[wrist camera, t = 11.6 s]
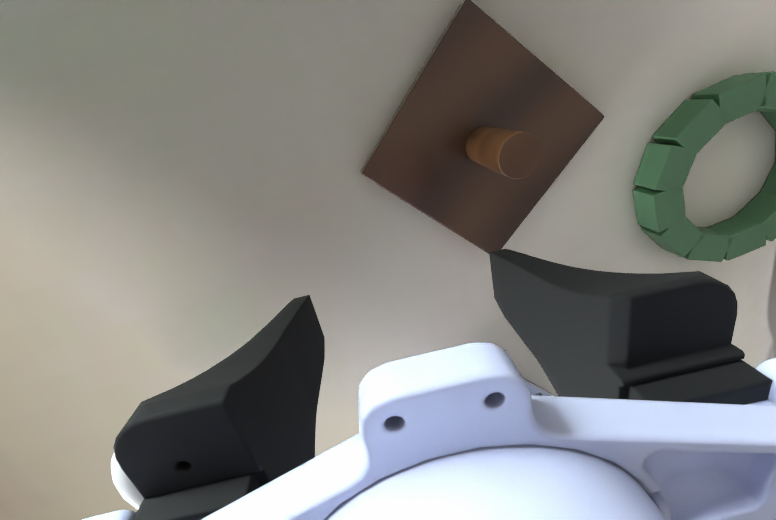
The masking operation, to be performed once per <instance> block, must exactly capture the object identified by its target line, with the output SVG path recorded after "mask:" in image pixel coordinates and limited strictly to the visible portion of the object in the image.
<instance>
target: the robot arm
mask: <svg viewBox="0 0 776 520" xmlns="http://www.w3.org/2000/svg"><path fill="white" fill-rule="evenodd" d="M490 262H491V271H492V280H493V289H494V298H495V300H496V302H497V303H498V305H499V307H500V309H501V311H502V313H503V315H504V316H505V318H506V319H507V321H508V322H509V323H510V325H511V326H512V327H513V329H514V330H515V331H516V333H517V334H518V335H519V337H520V338H521V339H522V341H523V342H524V343H525V344H526V346H527V347H528V348H529V350H530V351H531V352H532V354H533V355H534V356H535V358H536V359H537V361H538V362H539V364H540V365H541V367H542V368H543V370H544V372H545V373H546V375H547V377H548V379H549V380H550V382H551V384H552V385H553V387H554V389H555V391H556V392H557V394H558V396H552V394H551V393H549V392H547V391H545V390H544V389H542V388H540V387H538V386H536V385H534V384H532V383H530V382H528V381H526V380H524V379H523V378H522V376H521V374H520V373H519V371H518V369H517V368H516V366H515V365H514V363H513V361H512V360H511V358H510V357H509V355H508V353H507V352H506V351H505V350H503V349H502V348H500V347H498V346H496V345H494V344H492V343H469V344H464V345H460V346H456V347H451V348H447V349H443V350H439V351H434V352H430V353H426V354H422V355H417V356H413V357H409V358H404V359H400V360H396V361H392V362H387V363H385V364H383V365H381V366H379V367H377V368H375V369H373V370H370V371H369V372H368V374H367V375H366V376H365V378H364V379H363V380H362V382H361V383H360V384H359V434H357V435H355V436H353V437H351V438H349V439H348V440H346V441H344V442H342V443H340V444H338V445H337V446H335V447H333V448H331V449H329V450H327V451H326V452H324V453H322V454H320V455H318V456H316V457H315V426H316V412H317V404H318V397H319V391H320V385H321V378H322V372H323V365H324V335H323V332H322V330H321V327H320V324H319V321H318V318H317V315H316V312H315V310H314V307H313V304H312V301H311V298H310V295H307V296H303V297H299V298H295V299H293V300H292V301H291V302H289V303H288V304H287V305H286V306H285V307H284V308H283V309H282V310H281V311H280V312H279V313H278V314H277V315H276V316H275V317H274V318H273V319H272V320H271V321H270V322H269V323H268V324H267V325H266V326H265V327H264V328H263V329H262V330H261V331H260V332H259V333H258V334H256V335H255V336H254V337H253V338H252V339H251V340H250V341H248V342H247V343H246V344H245V345H244V346H242V347H241V348H240V349H238V350H237V351H236V352H234V353H233V354H232V355H230V356H229V357H227V358H226V359H224V360H223V361H221V362H219V363H218V364H216V365H215V366H213V367H212V368H210V369H209V370H207V371H205V372H203V373H202V374H200V375H198V376H196V377H194V378H193V379H191V380H189V381H187V382H185V383H183V384H181V385H179V386H177V387H175V388H173V389H170V390H168V391H166V392H164V393H161V394H159V395H157V396H154V397H152V398H150V399H148V400H145V401H143V402H141V403H140V405H139V406H138V408H137V409H136V410H135V412H134V413H133V415H132V416H131V417H130V419H129V420H128V422H127V423H126V424H125V426H124V427H123V429H122V430H121V431H120V433H119V434H118V436H117V437H116V440H115V444H114V454H115V458H116V460H117V462H118V464H119V465H120V467H121V469H122V470H123V472H124V473H125V474H126V475H127V477H128V478H129V479H130V481H131V482H132V483H133V485H134V486H135V487H136V489H137V490H138V491H139V492H140V494H141V495H142V496H143V498H144V499H143V501H142V503H141V505H140V507H139V509H138V510H137V512H134V511H131V510H118V511H114V512H110V513H106V514H101V515H97V516H93V517H88V518H85V519H82V520H776V358H773V359H769V360H766V361H764V362H762V363H761V364H759V365H758V366H757V367H756V369H755V368H753V367H752V366H750V365H749V364H747V363H745V362H744V361H742V360H741V359H744V356H745V354H744V352H743V351H742V350H740V349H739V348H737V347H736V346H734V345H732V344H731V341H732V336H733V331H734V326H735V321H736V317H737V300H736V296H735V293H734V292H733V291H732V290H731V288H730V287H729V286H728V285H726V284H724V283H722V282H720V281H718V280H716V279H714V278H712V277H710V276H708V275H706V274H704V273H702V272H700V271H696V272H680V273H664V274H632V273H614V272H602V271H594V270H588V269H581V268H575V267H570V266H566V265H562V264H557V263H553V262H550V261H546V260H542V259H539V258H536V257H532V256H529V255H526V254H523V253H519V252H516V251H512V250H508V249H503V250H499V251H494V252H490ZM538 393H539V394H538Z"/></svg>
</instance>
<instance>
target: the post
mask: <svg viewBox="0 0 776 520" xmlns="http://www.w3.org/2000/svg"><path fill="white" fill-rule="evenodd" d="M603 118H604V115H603V114H602V113H601V112H599V111H598V110H597V109H596V108H595V107H594V106H592V105H591V104H590V103H589V102H588V101H587V100H586V99H584V98H583V97H582V96H581V95H580V94H579V93H577V92H576V91H575V90H574V89H573V88H572V87H570V86H569V85H568V84H567V83H566V82H565V81H563V80H562V79H561V78H560V77H559V76H558V75H556V74H555V73H554V72H553V71H552V70H551V69H550V68H548V67H547V66H546V65H545V64H544V63H543V62H541V61H540V60H539V59H538V58H537V57H536V56H534V55H533V54H532V53H531V52H530V51H529V50H527V49H526V48H525V47H524V46H523V45H522V44H520V43H519V42H518V41H517V40H516V39H515V38H514V37H512V36H511V35H510V34H509V33H508V32H507V31H505V30H504V29H503V28H502V27H501V26H500V25H498V24H497V23H496V22H495V21H494V20H493V19H491V18H490V17H489V16H488V15H487V14H486V13H485V12H483V11H482V10H481V9H480V8H479V7H478V6H476V5H475V4H474V3H473V2H472V1H471V0H464V1H463V2H462V3H461V5H460V6H459V8H458V10H457V11H456V13H455V15H454V16H453V18H452V20H451V21H450V23H449V25H448V26H447V28H446V30H445V31H444V33H443V35H442V36H441V38H440V40H439V41H438V43H437V45H436V46H435V48H434V50H433V51H432V53H431V55H430V56H429V58H428V60H427V61H426V63H425V65H424V66H423V68H422V70H421V71H420V73H419V75H418V76H417V78H416V80H415V81H414V83H413V85H412V87H411V88H410V90H409V92H408V93H407V95H406V97H405V98H404V100H403V102H402V103H401V105H400V107H399V108H398V110H397V112H396V113H395V115H394V117H393V118H392V120H391V122H390V123H389V125H388V127H387V128H386V130H385V132H384V133H383V135H382V137H381V138H380V140H379V142H378V143H377V145H376V147H375V148H374V150H373V152H372V153H371V155H370V157H369V158H368V160H367V162H366V163H365V165H364V167H363V168H362V170H361V174H362V175H363V176H365V177H367V178H368V179H370V180H371V181H373V182H375V183H376V184H378V185H379V186H381V187H383V188H384V189H386V190H387V191H389V192H391V193H392V194H394V195H395V196H397V197H399V198H400V199H402V200H404V201H405V202H407V203H408V204H410V205H412V206H413V207H415V208H416V209H418V210H420V211H421V212H423V213H424V214H426V215H428V216H429V217H431V218H432V219H434V220H436V221H437V222H439V223H440V224H442V225H444V226H445V227H447V228H448V229H450V230H452V231H453V232H455V233H457V234H458V235H460V236H461V237H463V238H465V239H466V240H468V241H469V242H471V243H473V244H474V245H476V246H477V247H479V248H481V249H482V250H484V251H485V252H487V253H489V254H490V252H494V251H499V250H501V248H502V247H503V246H504V245H505V243H506V242H507V241H508V239H509V238H510V237H511V236H512V234H513V233H514V232H515V231H516V229H517V228H518V227H519V225H520V224H521V223H522V222H523V220H524V219H525V218H526V216H527V215H528V214H529V213H530V211H531V210H532V209H533V208H534V206H535V205H536V204H537V202H538V201H539V200H540V199H541V197H542V196H543V195H544V193H545V192H546V191H547V190H548V188H549V187H550V186H551V185H552V183H553V182H554V181H555V179H556V178H557V177H558V176H559V174H560V173H561V172H562V170H563V169H564V168H565V167H566V165H567V164H568V163H569V162H570V160H571V159H572V158H573V156H574V155H575V154H576V153H577V151H578V150H579V149H580V147H581V146H582V145H583V144H584V142H585V141H586V140H587V138H588V137H589V136H590V135H591V133H592V132H593V131H594V130H595V128H596V127H597V126H598V124H599V123H600V122H601V121H602V119H603Z"/></svg>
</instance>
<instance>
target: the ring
mask: <svg viewBox="0 0 776 520" xmlns="http://www.w3.org/2000/svg"><path fill="white" fill-rule="evenodd" d="M753 111H760V112H761V113H762V114H763V115H764V117H765V118H766V119H767V120H768V122H769V123H770V124H771V125H772V127H773V128H774V129H775V130H776V72H762V73H751V74H742V75H735V76H732V77H730V78H728V79H726V80H723V81H721V82H719V83H717V84H715V85H712V86H710V87H708V88H706V89H704V90H701V91H699V92H697V93H695V94H693V95H692V100H685V101H684V102H683V103H682V104H681V105H680V106H679V107H678V109H677V110H676V111H675V112H674V113H673V114H672V115H671V116H670V117H669V118H668V119H667V121H666V122H665V123H664V124H663V125H662V126H661V127H660V128H659V129H658V130H657V132H656V133H655V134H654V135H653V138H654V139H655V140H656V141H657V142H658V143H659V144H658V143H648V145H647V148H646V150H645V153H644V156H643V159H642V161H641V164H640V167H639V170H638V173H637V175H636V178H635V181H634V184H635V185H638V186H641V187H638V188H636V189H634V190H633V196H634V203H635V209H636V215H637V222H638V224H639V225H641V226H642V227H641V230H642V231H643V232H645V233H646V234H647V235H648V236H649V237H650V238H651V239H652V240H654V241H655V242H656V243H657V244H658V245H659V246H660V247H661V248H663V249H665V250H667V251H670V252H672V253H674V254H676V255H678V256H680V257H684V258H686V259H689V260H703V261H717V262H722V261H723V259H725V260H731V259H733V258H736V257H738V256H741V255H743V254H745V253H748V252H750V251H753V250H755V249H758V248H760V247H763V246H765V245H766V240H769V241H773V240H774V239H775V238H776V162H775V164H774V166H773V168H772V170H771V172H770V174H769V176H768V178H767V180H766V182H765V184H764V186H763V188H762V190H761V192H760V193H759V194H758V195H757V196H756V197H755V198H753V199H752V200H751V201H750V202H749V203H748V204H747V205H746V206H745V207H744V208H743V209H742V210H741V211H740V212H739V213H738V214H737V215H735V216H734V217H732V218H729V219H727V220H724V221H722V222H720V223H717V224H715V225H713V226H710V227H708V228H701V227H695V226H694V225H693V224H692V223H691V222H690V221H689V220H688V219H687V218H686V216H685V206H684V196H683V185H684V183H685V181H686V178H687V176H688V173H689V171H690V168H691V166H692V164H693V161H694V159H695V156H696V154H697V153H698V152H699V151H700V150H701V149H702V147H703V146H704V145H705V144H706V143H707V142H708V141H709V140H710V139H711V138H712V137H713V136H714V135H715V134H716V133H717V132H718V131H719V130H720V129H721V128H722V127H723V126H724V125H725V124H726V123H728V122H730V121H732V120H735V119H737V118H739V117H741V116H744V115H746V114H748V113H751V112H753Z"/></svg>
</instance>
